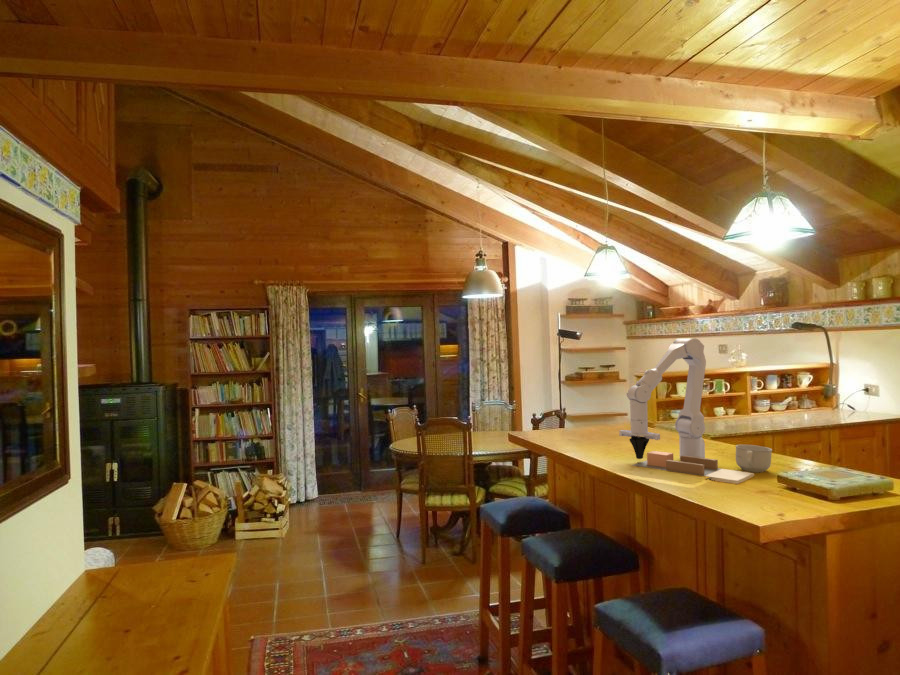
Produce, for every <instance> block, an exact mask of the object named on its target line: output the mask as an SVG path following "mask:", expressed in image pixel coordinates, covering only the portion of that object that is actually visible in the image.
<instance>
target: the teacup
mask: <svg viewBox="0 0 900 675" xmlns="http://www.w3.org/2000/svg"><path fill="white" fill-rule="evenodd" d="M772 452H773V449H772V448H770V447H766V446H760V445H755V444H736V445H735V462H736V465H737V466H738V467H739V468H740V469H741V470H742V471H744V472H749V473H759V472H760V473H764V472H766V471H767V470H768V469H770V467H771V463H772Z"/></svg>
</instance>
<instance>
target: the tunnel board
mask: <svg viewBox="0 0 900 675" xmlns="http://www.w3.org/2000/svg"><path fill="white" fill-rule="evenodd" d="M718 460H719V459H716V458H715V459H714V458H707V457H705V458H700V457H692V456H684V455H682V456H680V455H679V461H678V460H674V459H673V460H666V467H661V466H654V465H647V460H644V461H640V462H637V463H634V464H632V465H631V466H633V467H640V468H647V469H653V470H661V471H667V472H676V473H679V474H680V473H681V474H689V475H696V476H704V477H708V478H706V480H707V479H711V480H710V481H714V480H715V481H716V482H723V483H727V484H734V483H735V484H736V485H739V484H740V483H742V482H745V481H748V480H749V479H751V477H752V478H754V477H755V472H749V471H743V470H742V471H741V470H740V471H739V470H734V469H726V468H719V467H718V466H719V465H718V464H719V463H718ZM753 476H754V477H753Z"/></svg>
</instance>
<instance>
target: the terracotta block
mask: <svg viewBox="0 0 900 675" xmlns="http://www.w3.org/2000/svg"><path fill="white" fill-rule="evenodd" d="M646 458H647V459H646V461H647V465H654V466H661V467H666V460H673V461H674V453H673V452H666V451H665V452H664V451H656V450H652V451H649V452H647V453H646Z"/></svg>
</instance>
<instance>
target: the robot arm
mask: <svg viewBox="0 0 900 675" xmlns="http://www.w3.org/2000/svg"><path fill="white" fill-rule="evenodd" d="M704 349H705V345H704V344H703V343H702V341H701V340H700V339H698V338H696V337H693V338H681V337H680V338H676V339H675V340H673V342H672V343H671V344H670V345H669V347H668V350H667V351H666V352H665V353H664V355H663V356H662V357H661V359H660V360H659V361H658V363H657V364H656V365H655V367H653V368H649V369H646V370H645V371H644V372H643V375H642V377H641V378H640V379H639V380H637V381H636V382H635V384H634V385H632V386H630V387H629V388H628V392H627V393H626V396H627V399H628V400H629V404H630V412H629V413H630V430H624V429H621V430H619V431H618V433H619V434H618V435H619V437H630V438H629V442H630V444H631V447H632V448H633V450H634V453H635V457H636V459H638V460H641V459H644V454H645V451H646V448H647V445H648V443H649V441H650V440H655V441H659V440H661V434H660V433H655V432H649V426H648V423H649V422H648V418H649V417H648V401H649V400H650V399H651V398H652V393H653V391H654V390H655V389H656V387H658V385H659V384H660V383H661V382H662V380H663V374H664V373H665V372H666V371H667V370H668V369H670V367H671V366H672V365H673V364H674V363H675V362H676V361H677V360H680V359H683V360H684V362H686V363H687V365H688V371H687V378H686V387H685V395H684V402H683V408H682V409H681V410H680V411H679V413H678V417H677V418H676V420H675V422H674V426H675V430H676V432H678V436H679V443H678V444H679V457H680V456H682V455H684V456H692V457H700V458H706V445H705V440H704V438H703V435H704V433H705V431H706V425H705V416H704V414H703V413H702V412H701V407H702V406H701V405H702V395H703V390H704V389H703V388H704V382H705V373H706V366H707V360H706V356H705V352H704Z"/></svg>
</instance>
